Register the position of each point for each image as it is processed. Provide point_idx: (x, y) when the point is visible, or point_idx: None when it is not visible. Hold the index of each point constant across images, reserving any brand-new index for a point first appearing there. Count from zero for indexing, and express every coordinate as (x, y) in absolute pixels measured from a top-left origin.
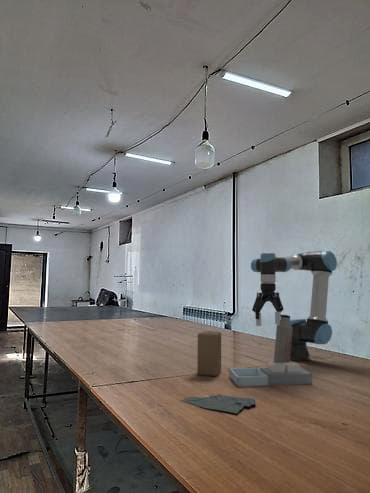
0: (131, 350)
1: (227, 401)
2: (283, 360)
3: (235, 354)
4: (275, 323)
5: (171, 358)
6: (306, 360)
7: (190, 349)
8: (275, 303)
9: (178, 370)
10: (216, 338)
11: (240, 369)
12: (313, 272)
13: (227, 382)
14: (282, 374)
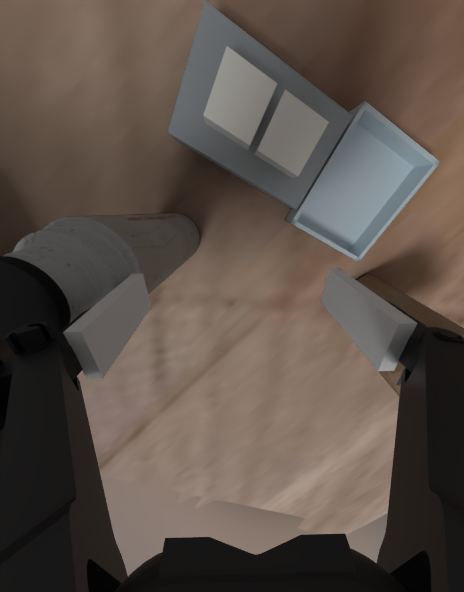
0: (322, 469)
1: None
2: (179, 219)
3: (174, 396)
4: (148, 306)
5: (312, 415)
6: None
7: (229, 448)
8: (62, 459)
9: None
10: (461, 327)
11: (335, 244)
12: None
13: None
14: (310, 84)
